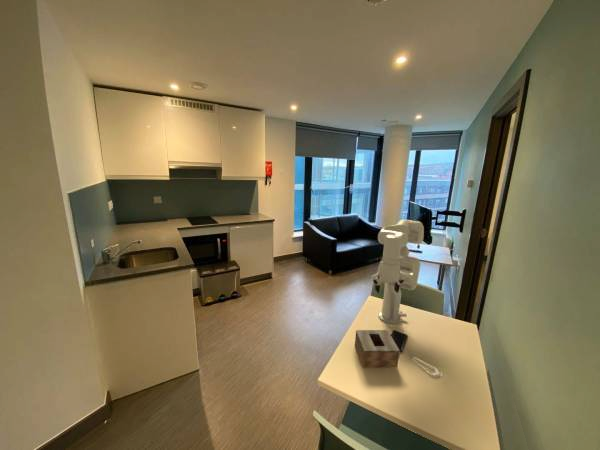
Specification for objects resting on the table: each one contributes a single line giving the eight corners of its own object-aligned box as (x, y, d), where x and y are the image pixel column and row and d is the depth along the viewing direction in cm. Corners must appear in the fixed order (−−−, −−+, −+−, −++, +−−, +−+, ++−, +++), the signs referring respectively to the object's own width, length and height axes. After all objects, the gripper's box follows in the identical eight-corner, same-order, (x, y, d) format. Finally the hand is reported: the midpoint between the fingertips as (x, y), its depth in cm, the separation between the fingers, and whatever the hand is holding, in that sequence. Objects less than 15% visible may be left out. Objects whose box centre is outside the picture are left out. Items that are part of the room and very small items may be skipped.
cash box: (385, 345, 123) (387, 330, 121) (397, 367, 109) (399, 350, 107) (354, 345, 122) (356, 330, 120) (362, 367, 109) (364, 350, 107)
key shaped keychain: (408, 364, 113) (409, 361, 112) (413, 358, 116) (413, 355, 116) (439, 381, 103) (439, 377, 103) (443, 374, 107) (443, 371, 106)
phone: (408, 335, 130) (402, 351, 118) (407, 336, 130) (402, 353, 118) (393, 329, 134) (386, 345, 122) (392, 331, 135) (385, 347, 122)
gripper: (404, 257, 121) (400, 287, 125) (370, 257, 120) (367, 287, 125) (411, 263, 114) (406, 295, 118) (375, 263, 113) (372, 295, 117)
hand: (386, 291), depth 121 cm, fingers open, 9 cm apart
